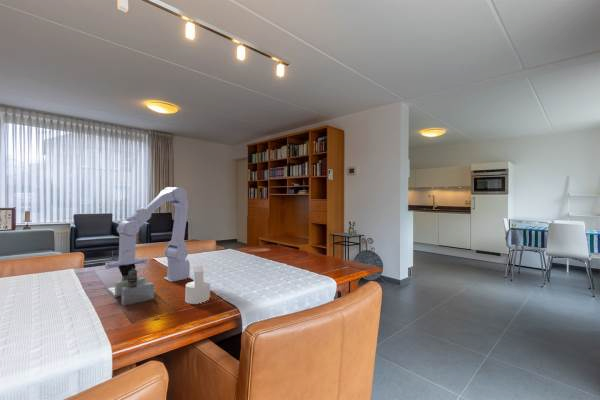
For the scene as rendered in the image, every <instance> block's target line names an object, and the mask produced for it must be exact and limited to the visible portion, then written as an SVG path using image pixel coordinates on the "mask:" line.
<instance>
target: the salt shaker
mask: <svg viewBox="0 0 600 400" xmlns="http://www.w3.org/2000/svg"><path fill="white" fill-rule="evenodd" d="M138 278H139V277H138V270H137V269H134V268H132V269H131V270H130V271H129V272H128V279H127V281H128V286H133V285H137V279H138ZM128 286H127V287H128Z"/></svg>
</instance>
